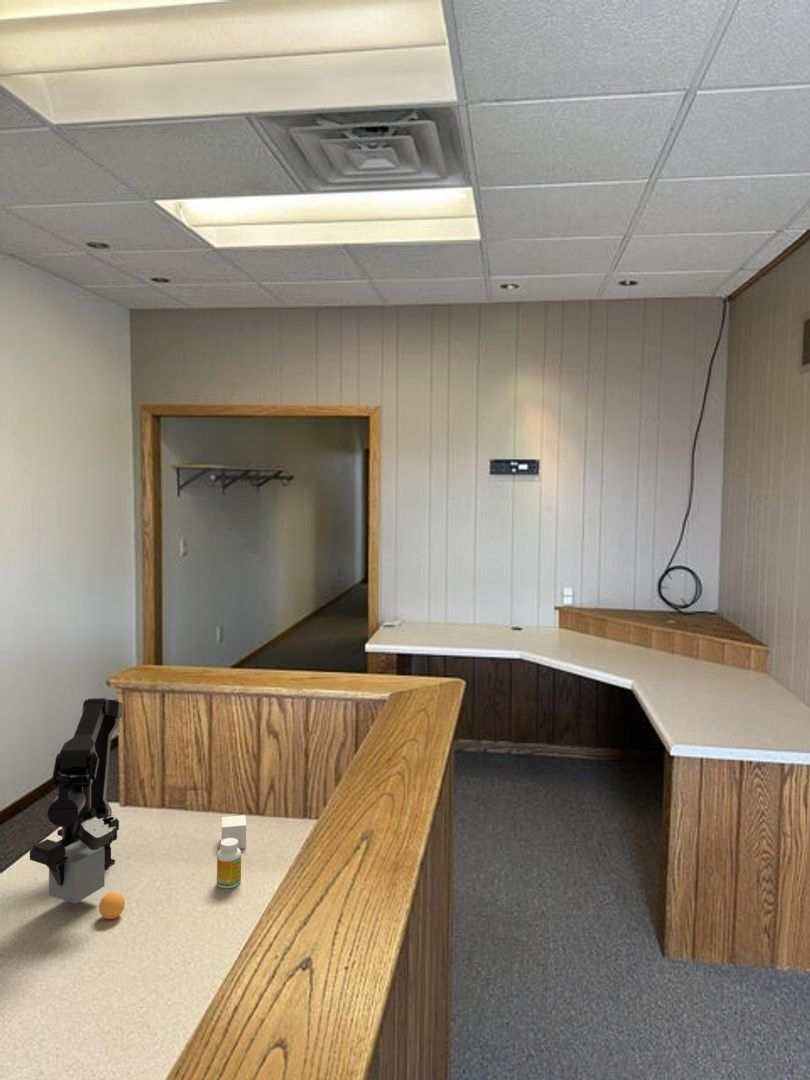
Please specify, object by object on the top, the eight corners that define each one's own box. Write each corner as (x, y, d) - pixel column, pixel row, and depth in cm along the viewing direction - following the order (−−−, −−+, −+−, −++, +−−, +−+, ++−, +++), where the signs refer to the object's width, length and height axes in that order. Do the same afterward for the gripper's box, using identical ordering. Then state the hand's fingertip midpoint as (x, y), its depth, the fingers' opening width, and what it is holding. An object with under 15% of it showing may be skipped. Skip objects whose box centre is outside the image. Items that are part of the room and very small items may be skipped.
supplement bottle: (234, 890, 162) (235, 848, 162) (212, 887, 163) (213, 845, 163) (244, 878, 168) (245, 837, 167) (223, 875, 169) (223, 835, 168)
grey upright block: (48, 894, 153) (48, 854, 153) (78, 877, 160) (78, 839, 160) (75, 903, 150) (75, 862, 149) (104, 886, 157) (104, 846, 156)
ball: (93, 920, 150) (93, 896, 149) (112, 908, 154) (112, 885, 154) (111, 926, 148) (111, 902, 147) (130, 914, 152) (130, 891, 152)
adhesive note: (246, 848, 182) (246, 825, 182) (221, 850, 181) (221, 827, 181) (245, 837, 188) (245, 815, 188) (221, 839, 187) (221, 817, 186)
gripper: (67, 831, 142) (66, 907, 143) (137, 796, 159) (137, 865, 160) (27, 819, 147) (27, 894, 148) (100, 787, 164) (100, 854, 165)
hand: (76, 876), depth 155 cm, fingers closed on grey upright block, 8 cm apart
